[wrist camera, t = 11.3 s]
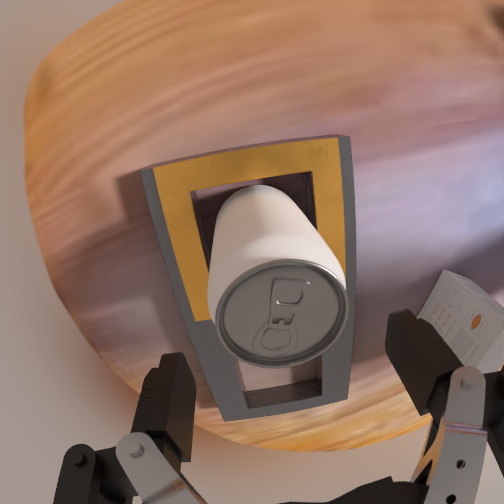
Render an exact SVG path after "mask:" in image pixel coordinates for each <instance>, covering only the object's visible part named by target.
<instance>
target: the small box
mask: <svg viewBox="0 0 504 504" xmlns="http://www.w3.org/2000/svg"><path fill="white" fill-rule="evenodd" d="M419 318H422V319H424V320H425V321H427V322H429V323H430V324H432V325H433V327H434V328H435V329H436V330H437V332H438V334H440V335H441V337H442V338H443V339H444V341H445V342H446V343H447V344H448V346H449V347H450V348H451V349H452V351H453V352H454V353H455V355H456V356H457V357H458V359H459V360H460V361H461V363H462V364H463V365H464V366H471V367H474V368H476V369H478V370H480V371H481V372H482V374H484V373H491V372H496V371H498V369H499V368H500V367H501V365H502V364H503V363H504V308H503V307H502V306H501V305H500V304H499V303H498V302H497V301H496V300H494V299H493V298H492V297H491V296H490V295H489V294H488V293H486V292H485V291H484V290H483V289H482V288H481V287H479V286H478V285H477V284H476V283H475V282H473V281H472V280H471V279H469V278H467V277H464V276H462V275H459V274H456V273H453V272H451V271H448V270H445V269H443V270H442V272H441V274H440V276H439V278H438V280H437V282H436V284H435V286H434V288H433V290H432V292H431V293H430V295H429V297H428V299H427V301H426V302H425V304H424V306H423V308H422V310H421V311H420V313H419V315H418V316H417V318H416V319H419Z"/></svg>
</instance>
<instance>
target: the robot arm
mask: <svg viewBox="0 0 504 504" xmlns="http://www.w3.org/2000/svg"><path fill="white" fill-rule="evenodd" d="M385 349H386V353H387V356H388V358H389V359H390V361H391V363H392V365H393V366H394V368H395V370H396V372H397V374H398V375H399V377H400V379H401V381H402V383H403V384H404V386H405V388H406V390H407V392H408V394H409V396H410V397H411V399H412V401H413V403H414V405H415V407H416V409H417V411H418V413H419V414H420V416H422V415H425V414H427V413H429V412H430V413H431V415H432V419H431V422H430V426H429V430H428V433H427V437H426V441H425V444H424V447H423V451H422V454H421V457H420V460H419V463H418V465H417V467H416V469H415V471H414V473H413V475H412V477H411V480H410V482H406V481H401V482H400V481H398V482H393V480H392V477H391V476H389V477H386V478H384V479H381V480H378V481H375V482H372V483H368V484H365V485H363V486H360V487H357V488H356V489H354V490H352V491H350V492H348V493H346V494H344V495H342V496H340V497H338V498H336V499H334V500H332V501H329V502H324V503H307V502H286V503H280V504H474V501H475V497H476V494H477V490H478V486H479V481H480V476H481V472H482V467H483V462H484V455H485V450H486V443H487V442H488V443H489V446H490V448H491V450H492V452H493V454H494V456H495V459H496V461H497V463H498V465H499V468H500V470H501V472H502V474H503V477H504V365H503V367H502V369H501V371H496V372H491V373H484V374H482V372H481V371H480V370H478V369H476V368H474V367H471V366H464V365H463V364H462V363H461V361H460V360H459V359H458V357H457V356H456V355H455V353H454V352H453V351H452V349H451V348H450V347H449V346H448V344H447V343H446V342H445V341H444V339H443V338H442V337H441V335H440V334H438V332H437V330H436V329H435V328H434V327H433V325H432V324H430V323H429V322H427V321H425V320H424V319H422V318H419V319H416V317H415V316H414V315H413V314H412V312H411V311H410V310H409V309H405V310H401V311H398V312H394V313H391V314H390V315H389V318H388V325H387V333H386V340H385ZM195 401H196V384H195V380H194V377H193V375H192V373H191V370H190V368H189V366H188V363H187V361H186V359H185V356H184V354H183V353H182V352H178V353H169V354H163V355H162V356H161V360H160V364H159V368H152V369H151V370H150V371H149V373H148V374H147V375H146V377H145V378H144V382H143V386H142V391H141V393H140V400H139V401H138V405H137V409H136V413H135V417H134V421H133V425H132V429H131V433H130V434H127V435H125V436H124V437H123V438H122V439H121V440H120V441H119V442H118V444H117V446H115V447H112V448H107V449H103V450H98V451H94V450H93V449H92V448H91V447H90V446H88V445H86V444H77V445H74V446H72V447H71V448H70V449H68V451H67V452H66V454H65V456H64V459H63V463H62V467H61V471H60V475H59V479H58V483H57V488H56V492H55V497H54V502H53V504H132V500H133V497H134V496H140V497H141V499H142V501H143V503H142V504H208V503H207V502H206V501H205V500H204V499H203V498H202V497H201V495H200V494H199V493H198V492H197V491H196V490H195V489H194V487H193V486H192V485H191V484H190V483H189V481H188V480H187V479H186V478H185V476H184V475H183V474H182V473H181V472H180V469H181V462H191V450H192V437H193V424H194V412H195Z"/></svg>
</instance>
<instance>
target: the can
mask: <svg viewBox="0 0 504 504" xmlns="http://www.w3.org/2000/svg"><path fill="white" fill-rule="evenodd" d="M207 300H208V308H209V313H210V316H211V318H212V320H213V322H214V324H215V327H216V331H217V335H218V337H219V339H220V341H221V343H222V344H223V346H224V347H225V348H226V349H227V351H228V352H230V353H231V354H232V355H233V356H234V357H236V358H237V359H239V360H241V361H243V362H245V363H247V364H250V365H253V366H257V367H262V368H273V369H276V368H287V367H292V366H296V365H300V364H303V363H305V362H308V361H310V360H312V359H314V358H316V357H317V356H319V355H320V354H322V353H323V352H325V351H326V350H327V349H328V348H329V347H330V346H331V345H332V344H333V343H334V342H335V341H336V340H337V339H338V337H339V336H340V334H341V333H342V331H343V329H344V327H345V325H346V322H347V318H348V313H349V301H348V296H347V292H346V283H345V277H344V273H343V270H342V268H341V266H340V264H339V262H338V260H337V258H336V257H335V255H334V254H333V252H332V251H331V249H330V248H329V247H328V245H327V244H326V243H325V241H324V240H323V238H322V237H321V236H320V234H319V233H318V232H317V231H316V229H315V228H314V227H313V225H312V224H311V223H310V221H309V220H308V219H307V218H306V216H305V215H304V214H303V212H302V211H301V210H300V209H299V207H298V206H297V205H296V204H295V203H294V201H293V200H292V199H291V198H290V197H289V196H288V195H286V194H285V193H284V192H282V191H281V190H279V189H276V188H274V187H271V186H265V185H253V186H248V187H245V188H242V189H240V190H238V191H236V192H235V193H233V194H232V195H231V196H230V197H229V198H228V199H227V200H226V201H225V202H224V203H223V205H222V206H221V208H220V210H219V213H218V216H217V219H216V225H215V231H214V238H213V246H212V253H211V262H210V270H209V279H208V292H207Z"/></svg>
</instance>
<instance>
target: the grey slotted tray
mask: <svg viewBox="0 0 504 504" xmlns="http://www.w3.org/2000/svg"><path fill="white" fill-rule="evenodd" d="M299 172H303V177H304V185H305V194H306V204H307V214H308V220H309V221H310V223H311V224H312V225H313V227H314V228H315V229H316V231H317V232H318V233H319V234H320V236H321V237H322V238H323V240H324V241H325V243H326V244H327V245H328V247H329V248H330V249H331V251H332V252H333V254H334V255H335V257H336V258H337V260H338V262H339V264H340V266H341V268H342V270H343V273H344V277H345V283H346V292H347V296H348V301H349V313H348V318H347V322H346V325H345V327H344V329H343V331H342V333H341V334H340V336H339V337H338V339H337V340H336V341H335V342H334V343H333V344H332V345H331V346H330V347H329V348H328V349H327V350H326V351H325V352H323V353H322V354H320V355H319V356H317V357H316V358H317V379H315V380H310V381H305V382H300V383H296V384H290V385H285V386H280V387H274V388H268V389H262V390H255V391H249V392H246V389H245V385H244V382H243V378H242V375H241V371H240V368H239V364H238V361H237V358H236V357H234V356H233V355H232V354H231V353H230V352H228V351H227V349H226V348H225V347H224V346H223V344H222V343H221V341H220V339H219V337H218V335H217V331H216V327H215V324H214V322H213V320H212V318H211V316H210V313H209V308H208V300H207V292H208V279H209V270H210V262H211V256H210V252H209V248H208V243H207V239H206V235H205V230H204V226H203V222H202V217H201V213H200V208H199V204H198V199H197V194H196V190H199V189H204V188H209V187H214V186H219V185H225V184H230V183H236V182H241V181H247V180H253V179H259V178H266V177H272V176H278V175H285V174H292V173H299ZM140 174H141V178H142V182H143V186H144V190H145V194H146V198H147V202H148V206H149V210H150V213H151V217H152V221H153V224H154V228H155V232H156V235H157V239H158V242H159V246H160V249H161V252H162V256H163V259H164V262H165V265H166V269H167V272H168V275H169V278H170V281H171V284H172V287H173V290H174V294H175V297H176V299H177V302H178V305H179V308H180V311H181V314H182V317H183V320H184V323H185V325H186V328H187V331H188V334H189V336H190V339H191V342H192V344H193V347H194V350H195V352H196V355H197V357H198V360H199V363H200V365H201V368H202V370H203V373H204V375H205V378H206V380H207V383H208V385H209V387H210V390H211V392H212V394H213V397H214V399H215V402H216V404H217V406H218V408H219V411H220V413H221V415H222V418H223V420H224V422H225V421H235V420H243V419H251V418H258V417H265V416H271V415H277V414H283V413H288V412H293V411H299V410H303V409H308V408H313V407H317V406H322V405H326V404H330V403H334V402H338V401H342V400H346V399H348V390H349V382H350V372H351V362H352V350H353V336H354V320H355V297H356V217H355V195H354V178H353V165H352V153H351V142H350V136H344V135H326V136H316V137H306V138H298V139H289V140H282V141H274V142H267V143H260V144H254V145H248V146H241V147H236V148H230V149H224V150H219V151H214V152H209V153H204V154H199V155H194V156H189V157H185V158H180V159H176V160H171V161H167V162H163V163H159V164H155V165H151V166H148V167H146V168H145V169H143V170H141V171H140Z"/></svg>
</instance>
